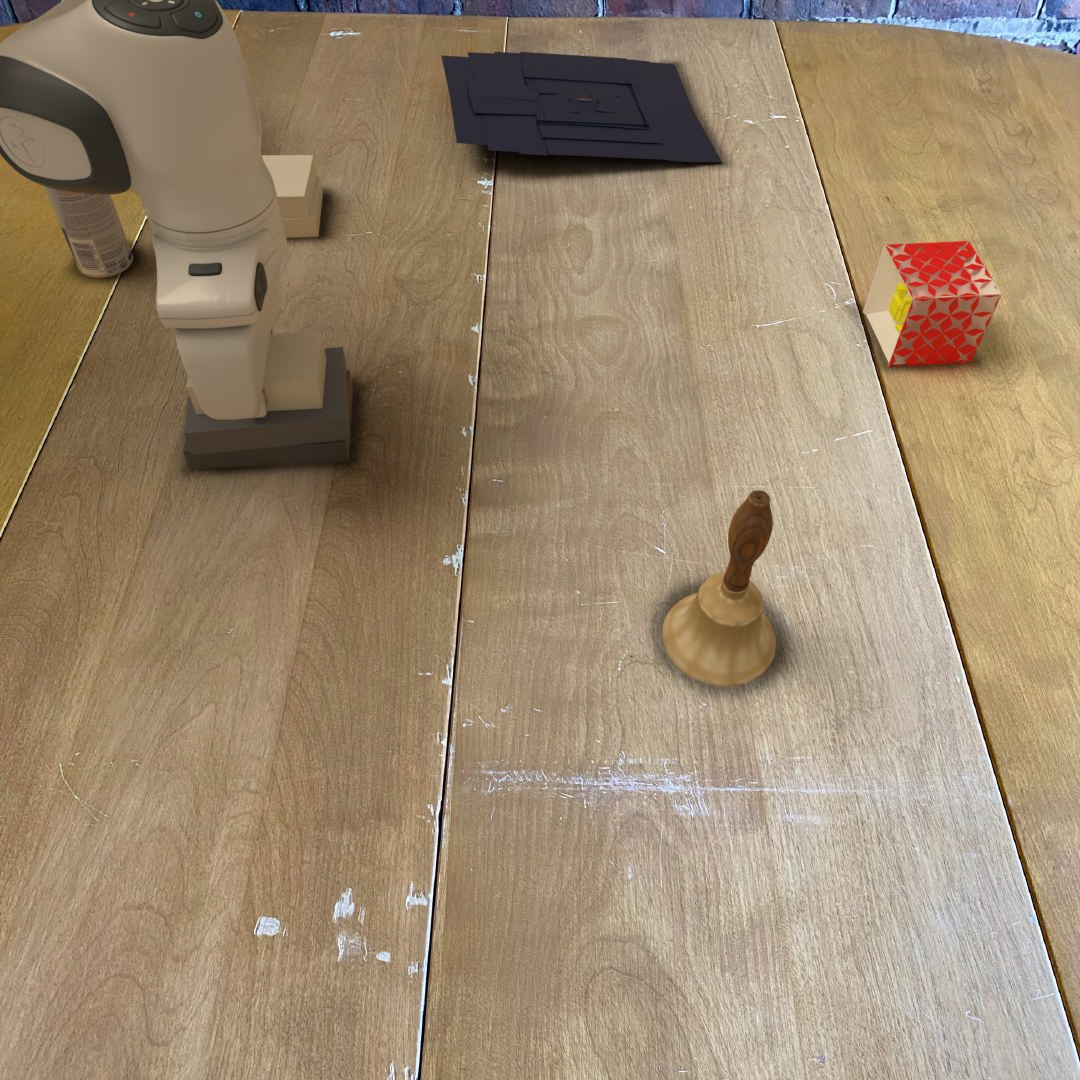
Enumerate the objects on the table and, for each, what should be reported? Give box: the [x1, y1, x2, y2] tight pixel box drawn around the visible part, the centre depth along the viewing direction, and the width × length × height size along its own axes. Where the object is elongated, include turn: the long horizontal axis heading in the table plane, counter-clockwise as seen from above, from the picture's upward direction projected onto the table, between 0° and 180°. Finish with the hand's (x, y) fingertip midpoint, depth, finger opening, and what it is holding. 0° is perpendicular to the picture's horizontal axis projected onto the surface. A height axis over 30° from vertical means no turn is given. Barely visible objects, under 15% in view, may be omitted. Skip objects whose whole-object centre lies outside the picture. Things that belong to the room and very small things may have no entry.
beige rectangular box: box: [262, 154, 324, 239], centre depth 103 cm, size 12×8×5 cm
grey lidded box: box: [182, 346, 354, 471], centre depth 83 cm, size 13×10×5 cm
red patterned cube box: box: [862, 240, 1003, 368], centre depth 90 cm, size 8×8×8 cm
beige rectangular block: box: [186, 331, 327, 414], centre depth 80 cm, size 10×6×3 cm, turn 94°
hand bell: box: [661, 489, 777, 687], centre depth 66 cm, size 8×8×16 cm
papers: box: [440, 51, 723, 163], centre depth 117 cm, size 24×30×4 cm
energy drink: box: [43, 186, 134, 279], centre depth 95 cm, size 5×5×12 cm
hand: (261, 380), depth 81 cm, fingers closed on beige rectangular block, 6 cm apart
